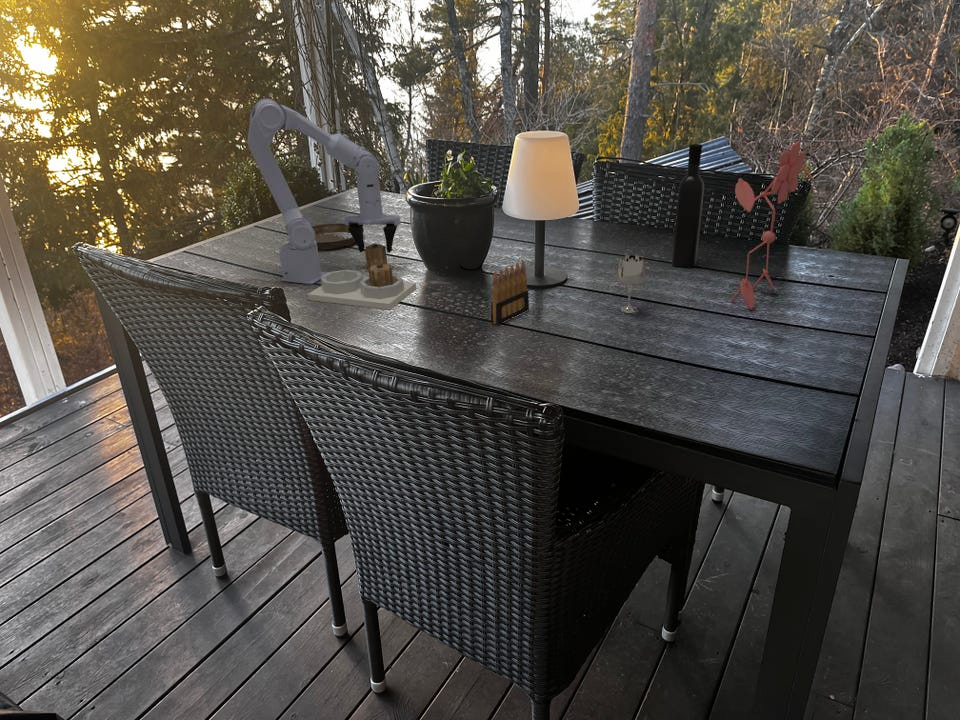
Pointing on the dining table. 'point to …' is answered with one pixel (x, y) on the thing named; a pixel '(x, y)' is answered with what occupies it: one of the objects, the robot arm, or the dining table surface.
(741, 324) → the dining table surface
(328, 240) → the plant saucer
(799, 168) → the figurine
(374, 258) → the loose gear
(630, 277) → the wineglass
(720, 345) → the dining table surface
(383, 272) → the seated gear
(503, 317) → the ammunition clip
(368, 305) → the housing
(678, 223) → the wine bottle
